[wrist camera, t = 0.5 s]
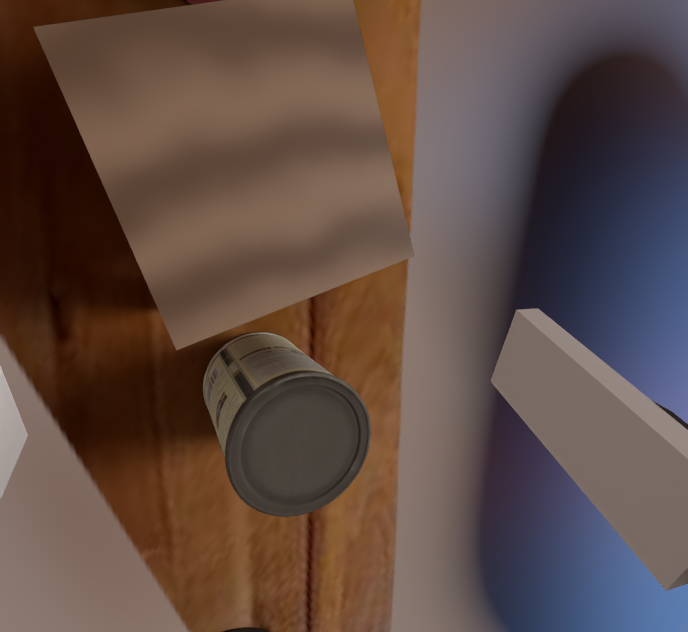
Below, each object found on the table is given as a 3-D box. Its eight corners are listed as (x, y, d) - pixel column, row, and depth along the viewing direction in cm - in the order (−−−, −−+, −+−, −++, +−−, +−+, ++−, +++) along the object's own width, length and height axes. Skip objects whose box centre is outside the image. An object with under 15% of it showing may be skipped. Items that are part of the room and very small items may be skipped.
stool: (348, 250, 43) (414, 255, 32) (169, 317, 37) (176, 350, 27) (292, 54, 38) (349, -17, 27) (73, 97, 32) (33, 26, 21)
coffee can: (315, 413, 45) (380, 484, 32) (215, 447, 41) (243, 541, 28) (298, 319, 42) (361, 355, 30) (190, 345, 39) (209, 400, 26)
